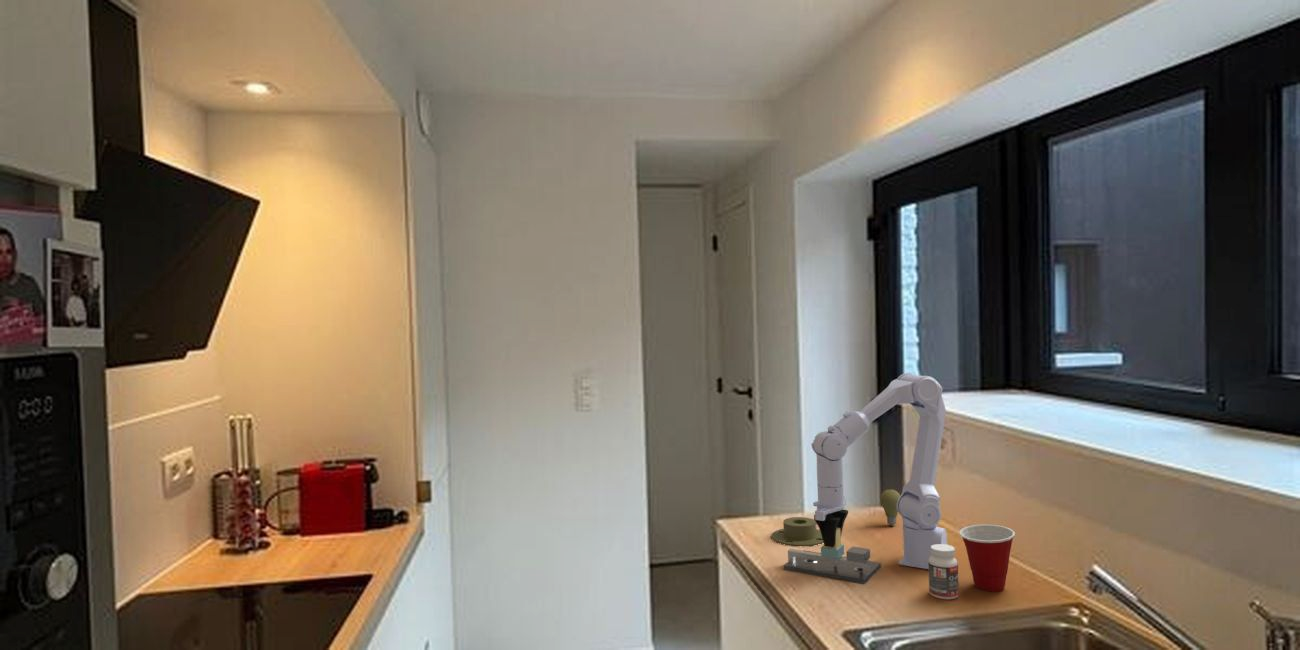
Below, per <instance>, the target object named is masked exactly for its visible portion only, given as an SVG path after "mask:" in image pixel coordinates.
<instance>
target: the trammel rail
mask: <svg viewBox="0 0 1300 650" xmlns="http://www.w3.org/2000/svg"><path fill="white" fill-rule="evenodd" d="M807 551H808V550H805V551H803V550H800V549H794V548H790V549H788V550H787V559H788V560H787V562H794V561H796V557H798V558H804V559H810V560H816V561H822V562H828V563H834V564H840V565H845V566H851V567H857V568H859V569H863V575H869V574H870V573H871V571H870V562H869V561H870V559H871V549H870V548H866V547H859V546H858V547H857V546H851V547H850V548H848V549H847V550H846V552H845V553H846V557H847V558H844V557H845V556H842V557H840V558H839V559H835V558H829V557H823V556H821V554H820V553H821V552H817V553H813V552H814V551H811V552H807Z"/></svg>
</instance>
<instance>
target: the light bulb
mask: <svg viewBox="0 0 1300 650" xmlns="http://www.w3.org/2000/svg"><path fill="white" fill-rule="evenodd" d="M900 496H901V494H900V492H898V491H897V490H895V489H892V488H891V489H889V488H887V489H886V490H884V491H882V493H881V494H880V497H879V499H880V504H881V507H882V509H883V511H884V515H885V516H886V520H887V521H886V522H887V525H889V526H890V527H894V526H895V525H896V524H897V517H898V514H899V512H898V510H897V501H898V499H899V497H900Z"/></svg>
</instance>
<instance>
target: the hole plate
mask: <svg viewBox="0 0 1300 650" xmlns="http://www.w3.org/2000/svg"><path fill="white" fill-rule="evenodd" d="M802 551H807V552H813V553H818V552H816V551H809V550H806V549H805V550H804V549H803V550H802ZM819 553H820V554H821V552H819ZM841 557H844V558H847V556H843V555H842V556H841ZM868 561H869V562H870V571H871V573H870V574H869V575H863V569H859V568H857V567H851V566H845V565H840V564H837V565H834V563H828V562H822V561H816V560H810V559H804V558H798V557H796V561H794V562H788V561H787V562H785V564H783V570H784V571H785V570H786V571H791V572H795V573H801V574H808V575H812V576H818V577H824V578H828V577H829V579H833V578H834V580H839V581H844V580H845V582H851V583H855V584H861V585H865V584H866V583H867V582H868V581H869V580H870V579H871V578H873V576H874V575H876V573H877V572H878V571H879V570H881V568H882V563H881V562H878V561H871V560H868ZM877 570H878V571H877Z"/></svg>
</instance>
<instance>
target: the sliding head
mask: <svg viewBox="0 0 1300 650" xmlns="http://www.w3.org/2000/svg"><path fill="white" fill-rule="evenodd" d="M841 539H842V534H841V531H840V528H837V530H836V539H835V545H834V547H827V546H825V545H824V544H822V546H821V547H820V553H821V556H823V557H829V558H835V559H839V558H840V557H841V556H842V557H843V555H844V554H845V545H843V544H842V540H841ZM823 543H824V542H823ZM834 565H837V564H834Z"/></svg>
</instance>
